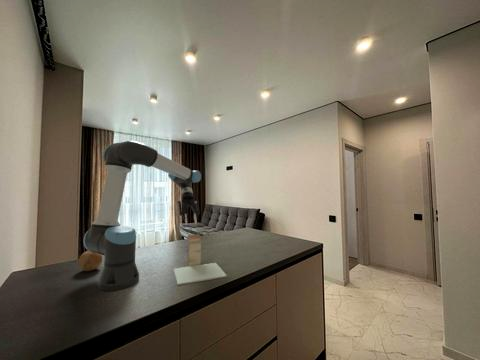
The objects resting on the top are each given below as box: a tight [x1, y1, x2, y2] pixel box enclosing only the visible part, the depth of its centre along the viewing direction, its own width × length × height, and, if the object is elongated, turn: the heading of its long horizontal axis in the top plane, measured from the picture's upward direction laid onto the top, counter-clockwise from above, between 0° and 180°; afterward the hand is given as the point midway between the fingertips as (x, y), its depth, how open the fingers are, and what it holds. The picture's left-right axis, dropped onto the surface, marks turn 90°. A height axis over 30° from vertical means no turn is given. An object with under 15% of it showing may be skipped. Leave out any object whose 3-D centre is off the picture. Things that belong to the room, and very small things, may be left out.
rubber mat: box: [173, 262, 228, 286], centre depth 98 cm, size 18×22×1 cm
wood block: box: [187, 234, 202, 267], centre depth 111 cm, size 6×6×15 cm
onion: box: [77, 250, 103, 272], centre depth 102 cm, size 10×10×10 cm
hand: (191, 223), depth 121 cm, fingers open, 5 cm apart
